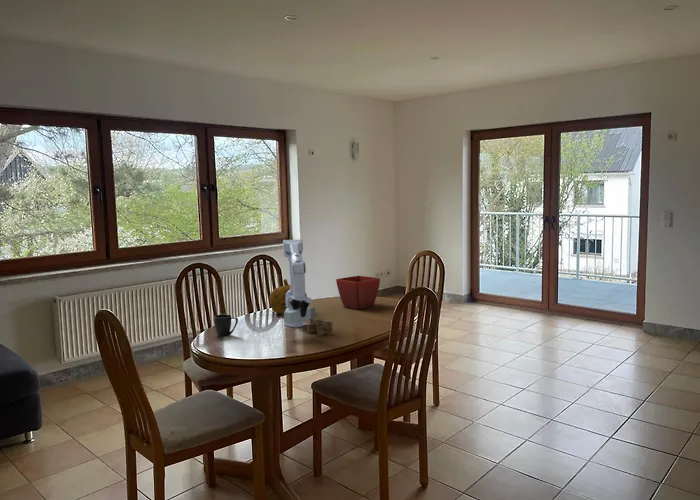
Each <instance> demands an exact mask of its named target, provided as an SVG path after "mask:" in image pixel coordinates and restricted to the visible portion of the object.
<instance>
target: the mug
mask: <svg viewBox="0 0 700 500" xmlns="http://www.w3.org/2000/svg"><path fill="white" fill-rule="evenodd" d="M232 320H235V324H234V325H233V327H232ZM238 322H239V318H238V317H232V315H231V314H228V313H227V314H226V313H223V314H222V313H221V314H216V315H214V316H213V326H214V329H215V332H216V336H217V337H220V338H221V337H223V338H225V337H228V336H230V335H233V333H234V331H235V330H236V328H237V325H238ZM231 328H232V330H231Z"/></svg>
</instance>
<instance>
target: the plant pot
mask: <svg viewBox="0 0 700 500" xmlns="http://www.w3.org/2000/svg"><path fill="white" fill-rule="evenodd" d="M335 279H336V280H335V281H336V282H335V283H336V287H337V290H338V291H337V292H338V295H339V297H340V298H339V299H340V300H341V302H342V305H343V307H344V308H348V307H349V308H350V309H353V308H354V310H362V308H363V309H367V308H366V307H368V308H371V307H370V306H373V307H374V306H375V303H376V299H377V296H378V294H379V293H378V292H379V290H380V282H381V278H380V277H372V276H365V275H353V276H347V277H342V278H335Z"/></svg>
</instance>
